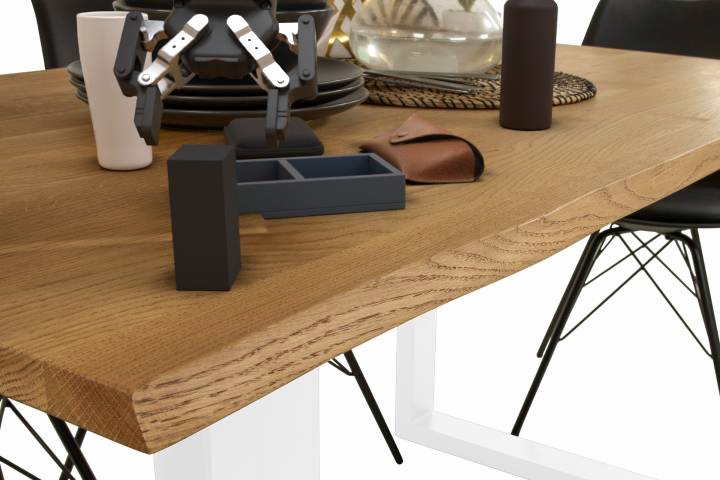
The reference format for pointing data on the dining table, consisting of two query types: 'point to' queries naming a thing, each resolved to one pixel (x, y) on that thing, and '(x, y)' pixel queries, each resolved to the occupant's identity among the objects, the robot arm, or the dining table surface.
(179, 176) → the black rectangular block
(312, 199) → the tray
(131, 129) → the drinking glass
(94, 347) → the dining table surface
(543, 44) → the bottle
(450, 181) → the sunglasses case
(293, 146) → the carrying case
